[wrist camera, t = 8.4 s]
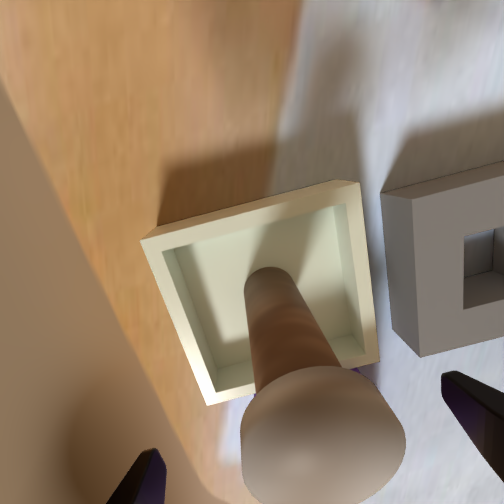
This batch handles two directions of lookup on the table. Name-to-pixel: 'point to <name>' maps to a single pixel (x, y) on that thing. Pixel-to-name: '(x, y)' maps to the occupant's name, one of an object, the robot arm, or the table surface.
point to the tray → (259, 256)
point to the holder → (444, 260)
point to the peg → (309, 408)
